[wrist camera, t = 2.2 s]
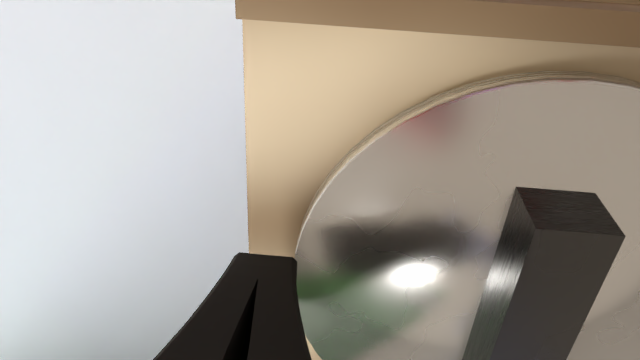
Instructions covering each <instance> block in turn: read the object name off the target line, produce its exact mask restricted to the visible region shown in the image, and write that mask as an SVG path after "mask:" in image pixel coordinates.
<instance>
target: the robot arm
mask: <svg viewBox="0 0 640 360" xmlns="http://www.w3.org/2000/svg"><path fill="white" fill-rule="evenodd" d="M153 360H312V359H311V355H310V352H309V348H308V345H307V341H306V337H305V332H304V328H303V323H302V319H301V314H300V308H299V302H298V294H297V261H296V260H295V259H294V258H293V257H287V256H275V255H262V254H250V253H238V254H237V255H235V256H234V258H233V259H232V261H231V263H230V264H229V266H228V267H227V269H226V270H225V272H224V273H223V275H222V276H221V278H220V279H219V281H218V282H217V283H216V285H215V286H214V288H213V289H212V290H211V292H210V293H209V294H208V296H207V297H206V298H205V300H204V301H203V302H202V303H201V305H200V306H199V307H198V308H197V310H196V311H195V312H194V314H193V315H192V316H191V317H190V319H189V320H188V321H187V322H186V323H185V325H184V326H183V327H182V328H181V329H180V330H179V331H178V333H177V334H176V335H175V336H174V337H173V338H172V339H171V340H170V342H169V343H168V344H167V345H166V346H165V347H164V348H163V349H162V351H161V352H160V353H159V354H158V355H157V356H156V357H155V358H154V359H153Z"/></svg>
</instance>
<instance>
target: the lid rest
mask: <svg viewBox="0 0 640 360" xmlns="http://www.w3.org/2000/svg"><path fill="white" fill-rule="evenodd" d="M235 8H236V19H242V21H243V57H244V93H245V129H246V164H247V200H248V236H249V253H250V254H262V255H275V256H287V257H293V258H294V259H295V252H296V245H297V239H298V235H299V232H300V229H301V225H302V222H303V219H304V216H305V214H306V212H307V209H308V207H309V205H310V203H311V201H312V199H313V197H314V195H315V193H316V192H317V190H318V189H319V187H320V186H321V184H322V183H323V182H324V180H325V179H326V177H327V176H328V174H329V173H330V171H331V170H332V169H333V168H334V167H335V166H336V165H337V164H338V163H339V161H340V160H341V159H342V158H343V157H344V156H345V155H346V154H347V153H348V152H349V151H350V150H351V149H352V148H353V147H354V146H355V145H357V144H358V143H359V142H360V141H361V140H362V139H364V138H365V137H366V136H367V135H368V134H370V133H371V132H372V131H373V130H374V129H376V128H377V127H379V126H381V125H382V124H384V123H385V122H387V121H388V120H390V119H391V118H393V117H395V116H396V115H398V114H399V113H401V112H402V111H404V110H406V109H408V108H410V107H412V106H414V105H416V104H418V103H421V102H423V101H425V100H427V99H429V98H431V97H433V96H435V95H438V94H441V93H443V92H446V91H449V90H452V89H455V88H458V87H460V86H463V85H466V84H469V83H473V82H477V81H482V80H486V79H490V78H495V77H499V76H503V75H509V74H518V73H528V72H537V71H585V72H592V73H600V74H607V75H614V76H620V77H623V78H627V79H630V80H634V81H638V82H640V0H235ZM305 337H306V335H305ZM306 341H307V345H308V348H309V352H310V355H311V359H312V360H322V359H321V358H320V357H319V355H318V354H317V353H316V352H315V350H314V348H313V347H312V345H311V344H310V342H309V340H308V339H307V337H306Z"/></svg>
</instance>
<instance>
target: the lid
mask: <svg viewBox="0 0 640 360" xmlns="http://www.w3.org/2000/svg"><path fill="white" fill-rule="evenodd" d="M295 260H296V261H297V294H298V302H299V308H300V314H301V319H302V323H303V328H304V332H305V335H306V337H307V339H308V340H309V342H310V344H311V345H312V347H313V348H314V350H315V352H316V353H317V354H318V355H319V357H320V358H321V359H322V360H640V82H638V81H634V80H630V79H627V78H623V77H620V76H614V75H607V74H600V73H592V72H585V71H537V72H528V73H518V74H509V75H503V76H499V77H495V78H490V79H486V80H482V81H477V82H473V83H469V84H466V85H463V86H460V87H458V88H455V89H452V90H449V91H446V92H443V93H441V94H438V95H435V96H433V97H431V98H429V99H427V100H425V101H423V102H421V103H418V104H416V105H414V106H412V107H410V108H408V109H406V110H404V111H402V112H401V113H399V114H398V115H396V116H395V117H393V118H391V119H390V120H388V121H387V122H385V123H384V124H382V125H381V126H379V127H377V128H376V129H374V130H373V131H372V132H371V133H370V134H368V135H367V136H366V137H365V138H364V139H362V140H361V141H360V142H359V143H358V144H357V145H355V146H354V147H353V148H352V149H351V150H350V151H349V152H348V153H347V154H346V155H345V156H344V157H343V158H342V159H341V160H340V161H339V163H338V164H337V165H336V166H335V167H334V168H333V169H332V170H331V171H330V173H329V174H328V176H327V177H326V179H325V180H324V182H323V183H322V184H321V186H320V187H319V189H318V190H317V192H316V193H315V195H314V197H313V199H312V201H311V203H310V205H309V207H308V209H307V212H306V214H305V216H304V219H303V222H302V225H301V229H300V232H299V235H298V239H297V245H296V252H295Z"/></svg>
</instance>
